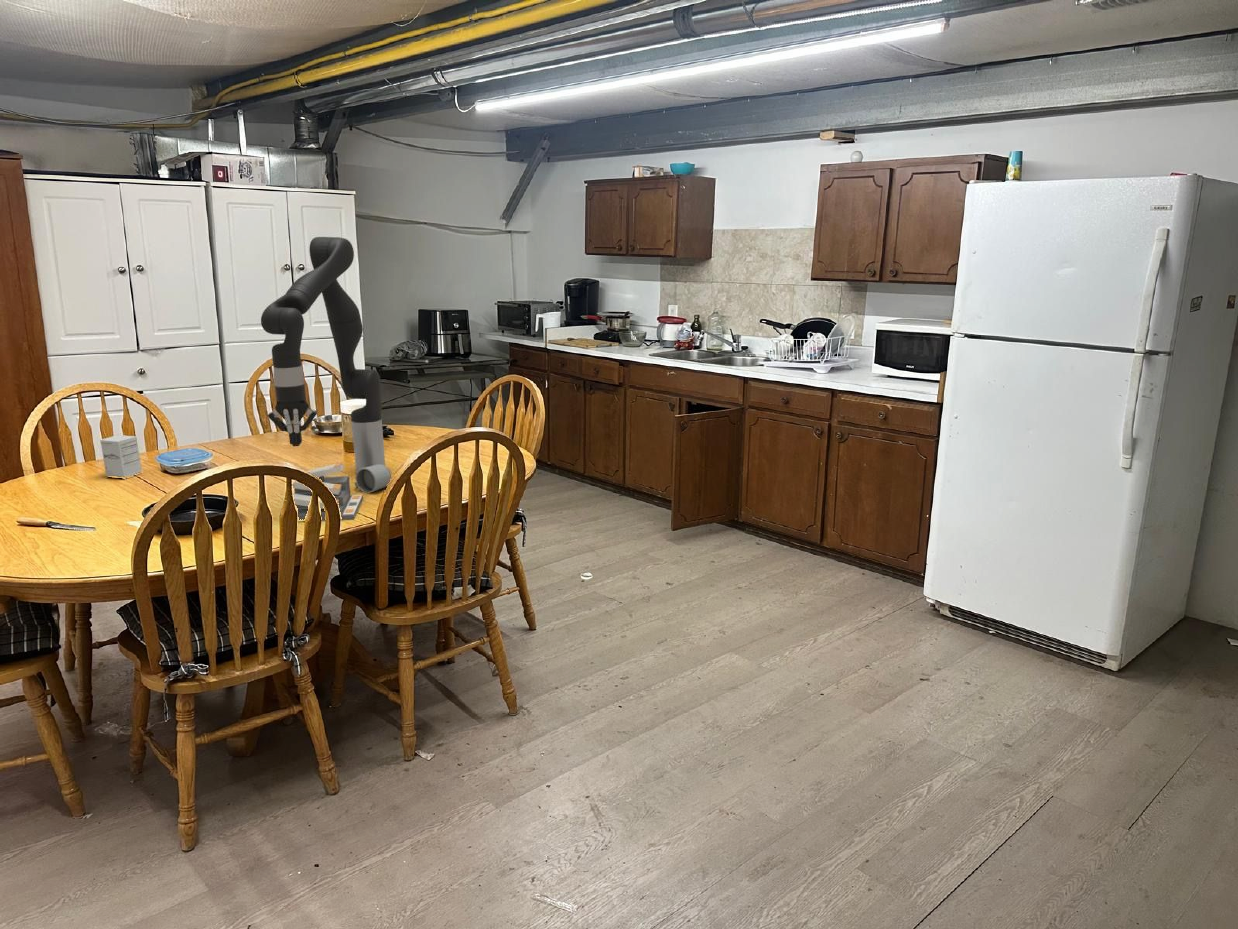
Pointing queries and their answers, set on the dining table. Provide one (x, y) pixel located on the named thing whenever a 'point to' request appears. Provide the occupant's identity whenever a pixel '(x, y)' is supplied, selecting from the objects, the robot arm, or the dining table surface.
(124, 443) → the supplement box
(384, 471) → the ceramic mug
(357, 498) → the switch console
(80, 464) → the dining table surface
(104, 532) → the dining table surface
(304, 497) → the block
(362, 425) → the robot arm
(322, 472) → the rear rocker
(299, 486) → the middle rocker
